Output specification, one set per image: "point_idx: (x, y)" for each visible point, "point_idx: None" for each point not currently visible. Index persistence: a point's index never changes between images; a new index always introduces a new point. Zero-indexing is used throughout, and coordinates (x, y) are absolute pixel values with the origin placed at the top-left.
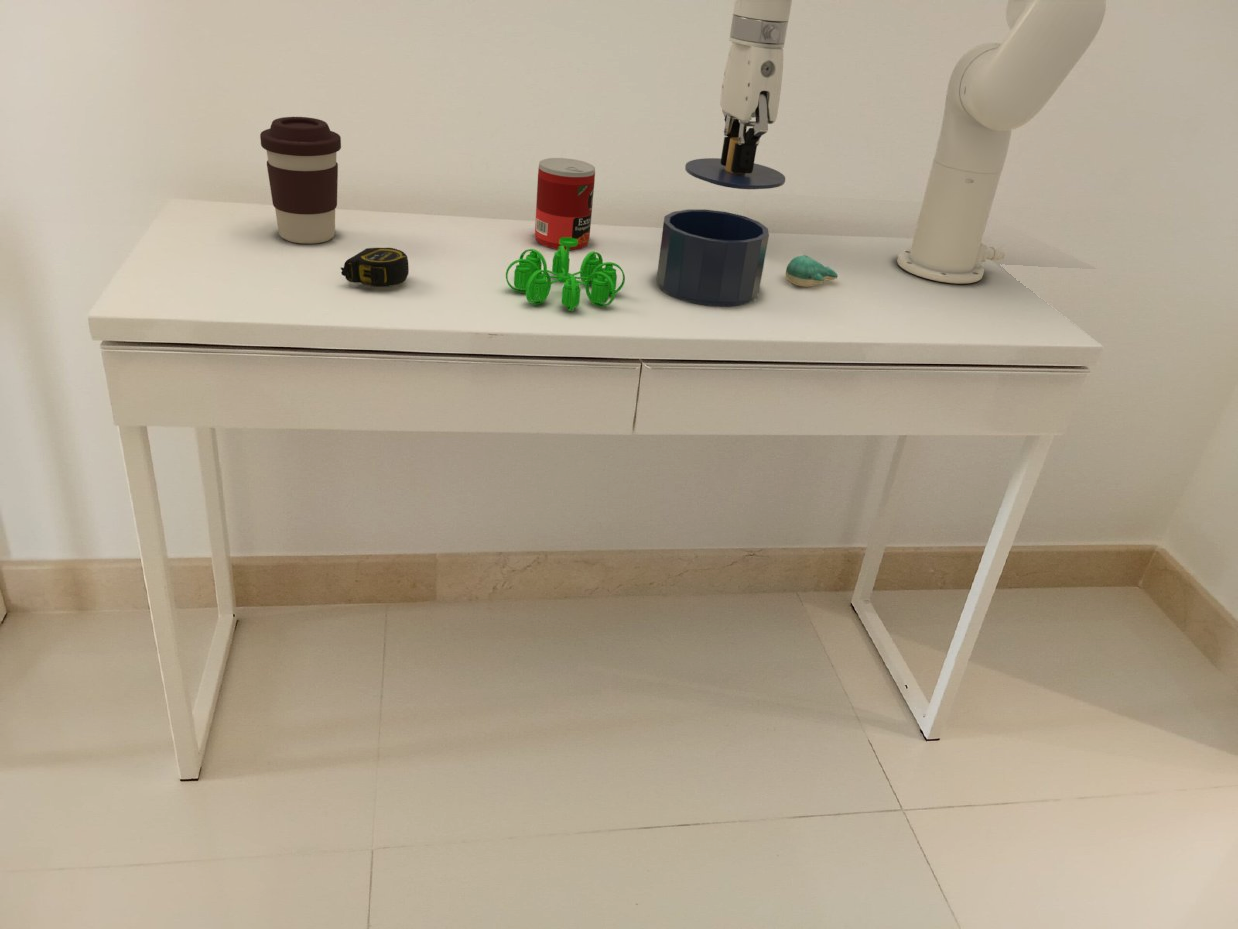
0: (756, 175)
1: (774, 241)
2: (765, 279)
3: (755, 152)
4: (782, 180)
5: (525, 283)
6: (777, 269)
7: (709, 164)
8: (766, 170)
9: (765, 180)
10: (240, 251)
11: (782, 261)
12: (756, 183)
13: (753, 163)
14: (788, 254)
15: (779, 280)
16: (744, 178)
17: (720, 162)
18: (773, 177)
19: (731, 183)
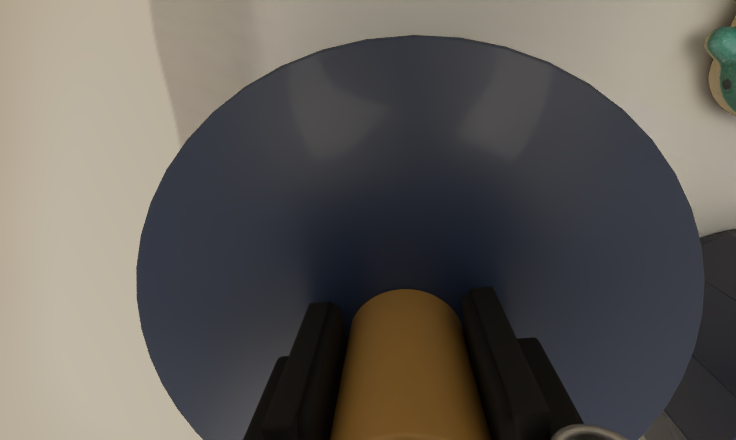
0: (480, 245)
1: (342, 19)
2: (699, 172)
3: (528, 365)
4: (586, 99)
5: None
6: (620, 104)
7: None
8: (340, 136)
9: (594, 224)
10: None
11: (547, 59)
12: (660, 300)
13: (504, 314)
14: (477, 10)
15: (716, 130)
16: (553, 333)
17: (234, 360)
18: (513, 142)
19: (651, 422)
